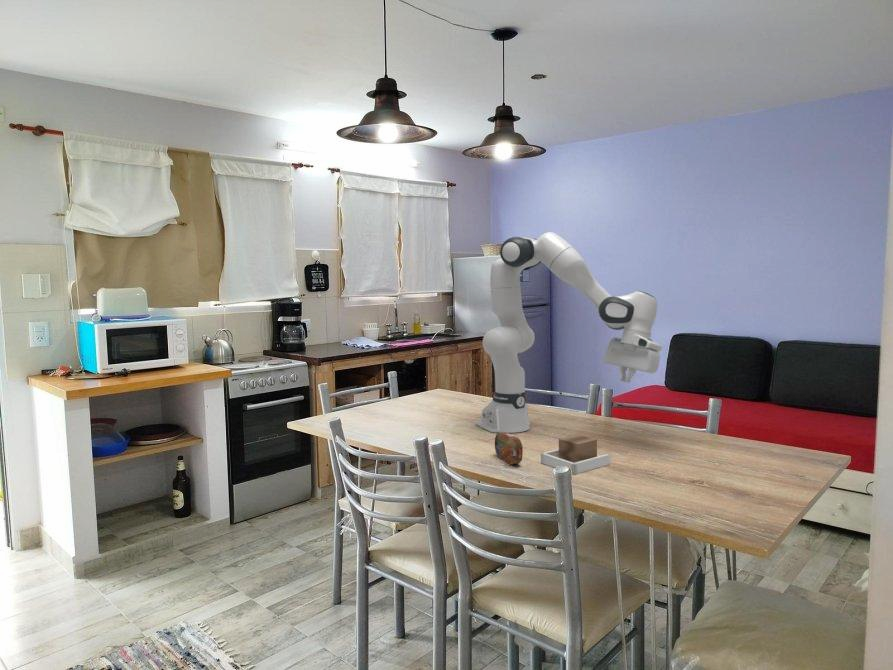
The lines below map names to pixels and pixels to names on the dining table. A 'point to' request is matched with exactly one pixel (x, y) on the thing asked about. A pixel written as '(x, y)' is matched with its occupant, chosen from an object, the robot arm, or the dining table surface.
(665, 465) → the dining table surface
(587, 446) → the walnut block
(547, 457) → the white u-shaped frame
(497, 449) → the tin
